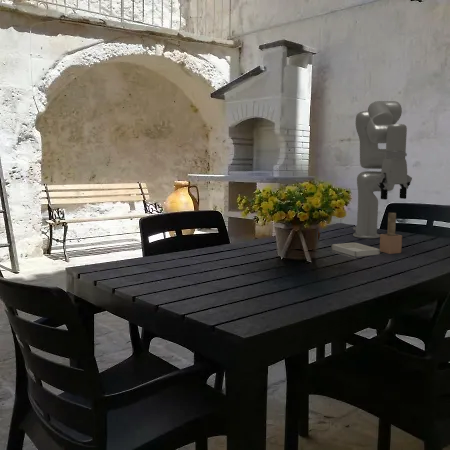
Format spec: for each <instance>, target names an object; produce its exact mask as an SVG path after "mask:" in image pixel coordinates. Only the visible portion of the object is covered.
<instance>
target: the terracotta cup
mask: <svg viewBox="0 0 450 450" xmlns="http://www.w3.org/2000/svg"><path fill="white" fill-rule="evenodd" d="M402 247H403V235H401V234H398V233H395V236H388V235H387V233H381V234H380V237H379V249H380V253H384V254H388V255H392V254H401V253H402Z"/></svg>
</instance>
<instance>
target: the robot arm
mask: <svg viewBox="0 0 450 450" xmlns="http://www.w3.org/2000/svg"><path fill="white" fill-rule="evenodd" d="M402 114H403V108H402V105H401V103H400V102H398V101H396V100H384V101H383V100H376V101H373V102H372V103H369V105H368V107H367V110H364V111H363V110H362V111H360V112H358V113H357V114H356V117H355V129H356V133H357V135H358V141H359V165H360V167H361V168H363V169H367V170H369V169H371V171H370V170H369V171H362V172H360V173H358V175H357V176H356V186H357V213H356V216H357V218H356V226H354V227H353V228H352V229H353V230H354V231H355V232H354V233H353V234H352V235H353V237H355V238H358V239H359V238H360V239H380V234H379V233H378V217H379V215H378V214H379V199H378V197H377V196H376V195H375V192H380V200H388V192H391V191H393V190H394V188H395V186H396V185H398V186H399V187H400V188H399V199H403V200H407V192H408V190H407V189H409V187H410V185H411V183H412V181H413V177H411V176H410V175H409V174H408V163H407V159H406V157H407V155H408V153H407V151H406V150H407V137H408V136H407V133H408V132H407V131H408V130H407V129H408V127H407V125H405V124H403V123H398V121H399V120H400V118H401V117H402ZM379 144H385V148H379ZM376 169H377V170H381V171H373V170H376Z"/></svg>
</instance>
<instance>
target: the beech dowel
mask: <svg viewBox="0 0 450 450" xmlns="http://www.w3.org/2000/svg"><path fill="white" fill-rule="evenodd" d="M396 224H397V212H388V213H387V232H386V234H387V235H388V236H395V234H396V227H397V226H396Z"/></svg>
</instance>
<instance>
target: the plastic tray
mask: <svg viewBox="0 0 450 450" xmlns="http://www.w3.org/2000/svg"><path fill="white" fill-rule="evenodd" d="M331 253H334V254H338V255H341V256H345V257H347V258H350V259H352V260H353V259H354V260H359V258H357V257H367V256H375V255H377V256H378V255H381V251H380V248H378V247H377V248H376V247H373V246H370V245H366V244H362V243H359V242H346V243H345V242H343V243H333V244H331Z"/></svg>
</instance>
